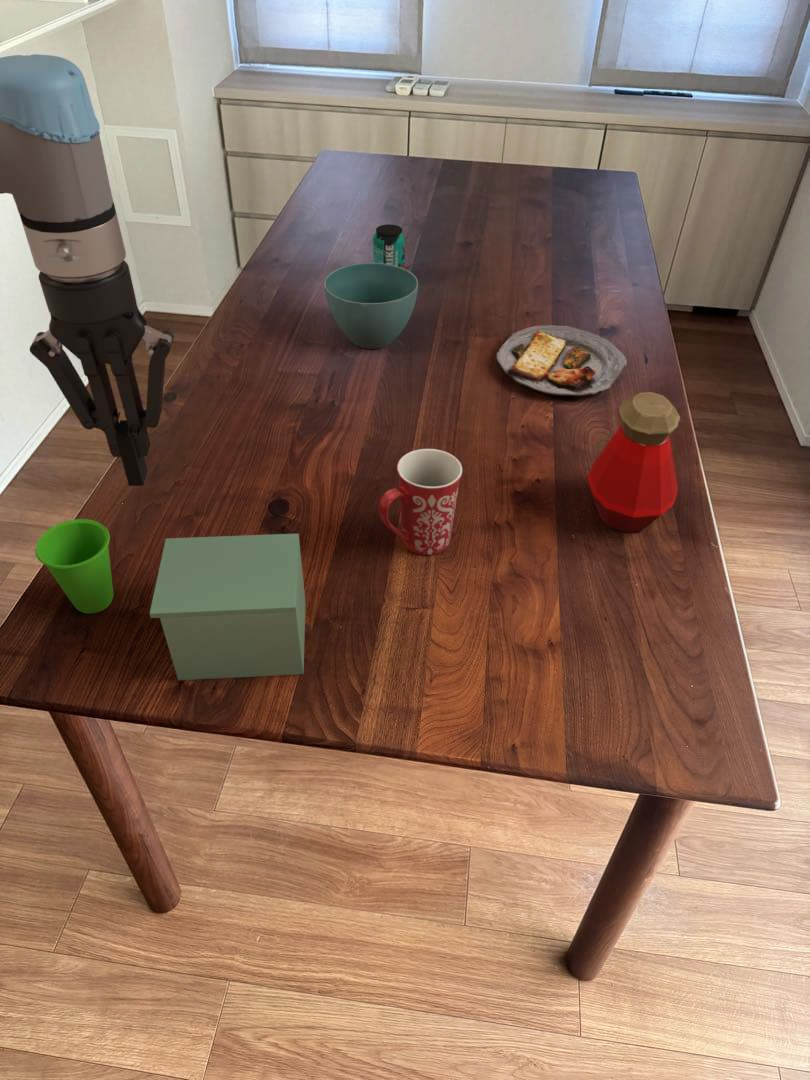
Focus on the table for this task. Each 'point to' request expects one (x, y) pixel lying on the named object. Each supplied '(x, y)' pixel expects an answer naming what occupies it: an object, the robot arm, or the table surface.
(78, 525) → the cup
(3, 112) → the robot arm
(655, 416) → the bottle
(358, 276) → the plant pot
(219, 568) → the lid
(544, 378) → the food plate
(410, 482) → the mug
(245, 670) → the chest
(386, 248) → the beverage can
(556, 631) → the table surface
